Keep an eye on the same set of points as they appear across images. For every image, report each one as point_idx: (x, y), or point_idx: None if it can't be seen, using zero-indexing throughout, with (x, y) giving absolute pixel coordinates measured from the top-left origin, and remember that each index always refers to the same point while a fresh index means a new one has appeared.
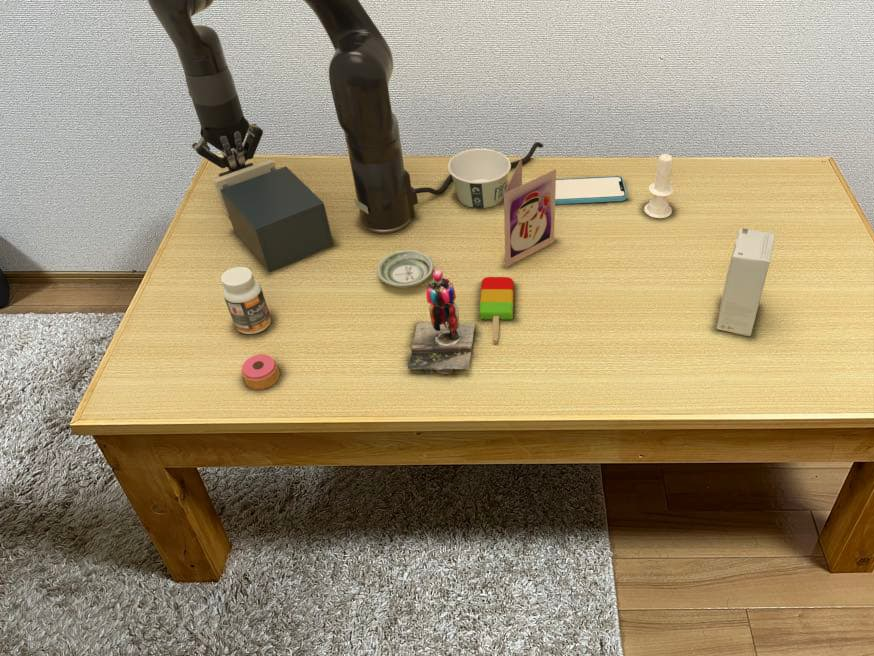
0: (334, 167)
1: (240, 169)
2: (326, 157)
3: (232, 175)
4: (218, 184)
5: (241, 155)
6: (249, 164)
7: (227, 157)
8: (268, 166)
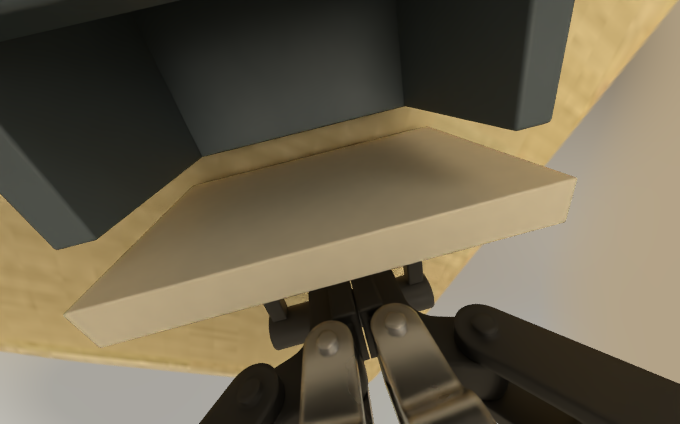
0: (9, 309)
1: (346, 297)
2: (59, 355)
3: (434, 223)
4: (536, 173)
5: (322, 408)
6: (288, 340)
7: (483, 403)
8: (135, 279)
